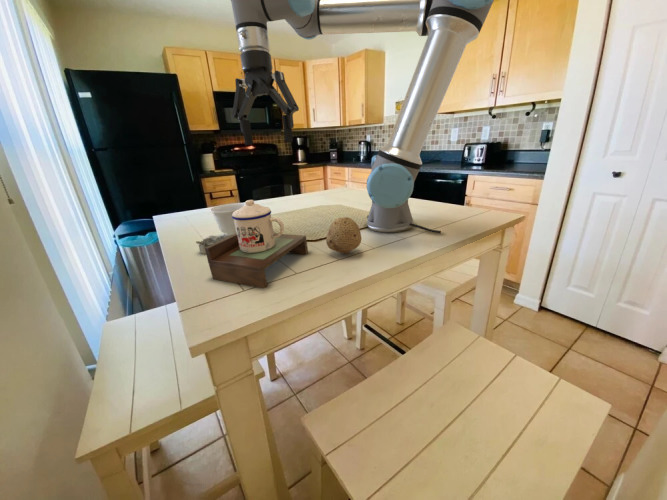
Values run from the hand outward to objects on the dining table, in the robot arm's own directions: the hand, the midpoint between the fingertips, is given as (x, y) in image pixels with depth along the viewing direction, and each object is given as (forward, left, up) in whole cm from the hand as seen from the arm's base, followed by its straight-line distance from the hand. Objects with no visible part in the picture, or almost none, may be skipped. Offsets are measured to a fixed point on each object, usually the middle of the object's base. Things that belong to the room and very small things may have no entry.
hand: (268, 143), depth 76 cm
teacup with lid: (-7, +18, -24) cm, 31 cm away
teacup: (+18, 0, -29) cm, 34 cm away
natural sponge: (-24, +6, -29) cm, 38 cm away
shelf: (-6, +18, -29) cm, 34 cm away
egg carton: (+15, +12, -29) cm, 35 cm away
